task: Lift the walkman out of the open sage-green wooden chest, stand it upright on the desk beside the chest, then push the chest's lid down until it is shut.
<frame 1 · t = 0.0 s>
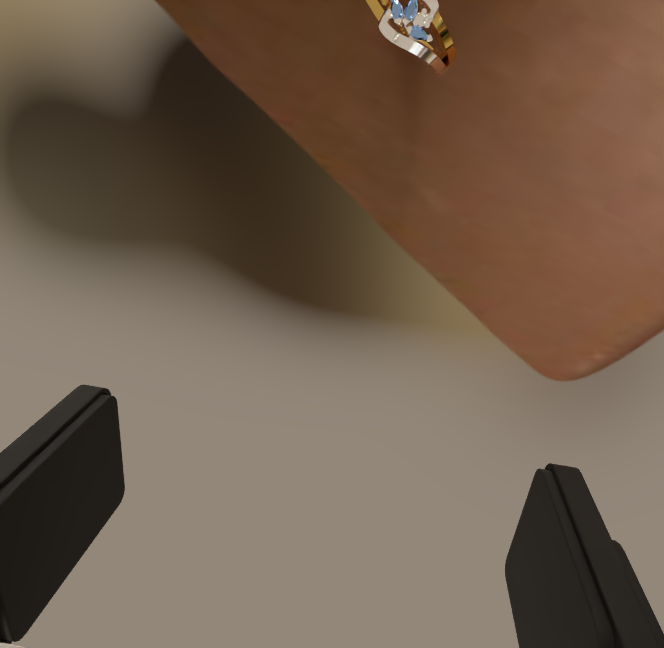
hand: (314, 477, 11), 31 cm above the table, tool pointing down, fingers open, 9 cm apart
ring: (408, 32, 35), on the table
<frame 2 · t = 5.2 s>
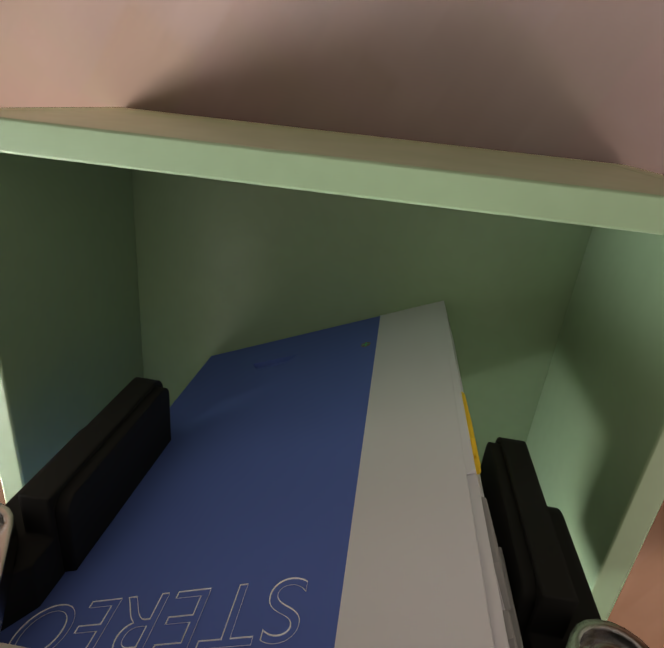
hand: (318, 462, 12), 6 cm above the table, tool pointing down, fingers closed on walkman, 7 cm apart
chest: (336, 359, 17), on the table
walkman: (332, 362, 17), resting on chest, touching gripper
when the fingers open (5 cm above the table, at t = 12.6 s): walkman stays where it is, on the table.
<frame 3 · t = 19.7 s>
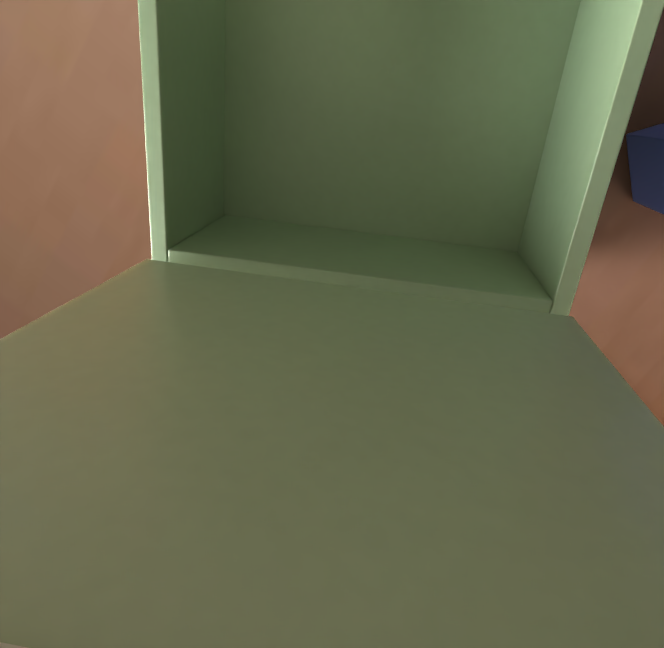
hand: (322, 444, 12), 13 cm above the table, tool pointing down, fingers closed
chest: (388, 69, 20), on the table
chest lid: (313, 414, 10), point 14 cm above the table, hinge at 88.6°, touching gripper
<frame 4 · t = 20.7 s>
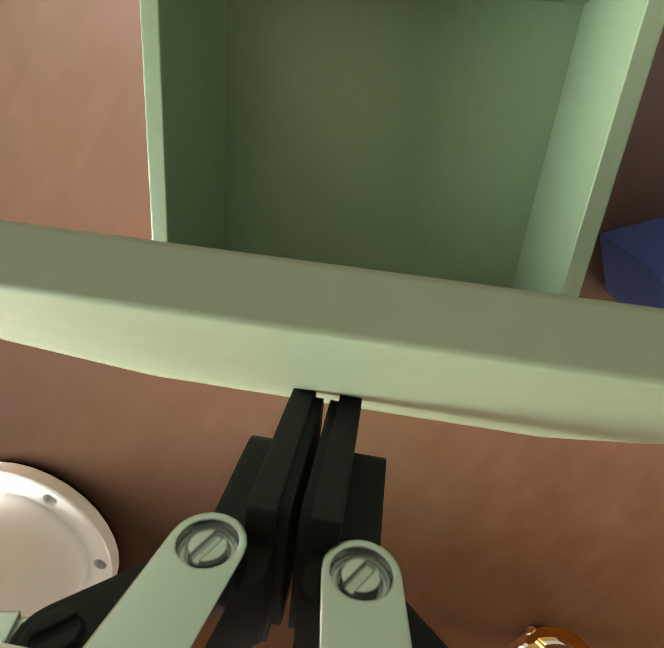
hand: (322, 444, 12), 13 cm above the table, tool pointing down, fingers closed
chest: (377, 171, 22), on the table
chest lid: (326, 377, 11), point 13 cm above the table, hinge at 54.9°, touching gripper
ring: (531, 627, 31), on the table
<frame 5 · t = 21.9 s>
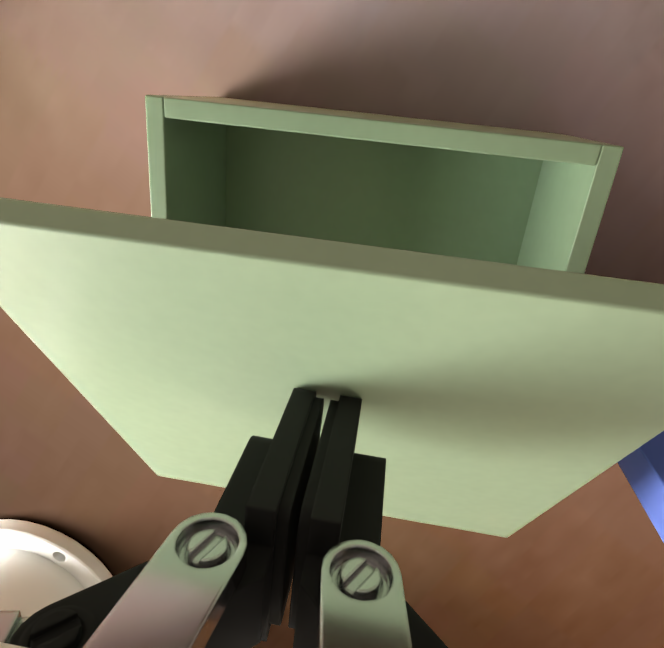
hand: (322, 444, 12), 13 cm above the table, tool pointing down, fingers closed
chest: (363, 277, 24), on the table
walkman: (655, 340, 23), on the table
chest lid: (327, 428, 14), point 11 cm above the table, hinge at 32.6°
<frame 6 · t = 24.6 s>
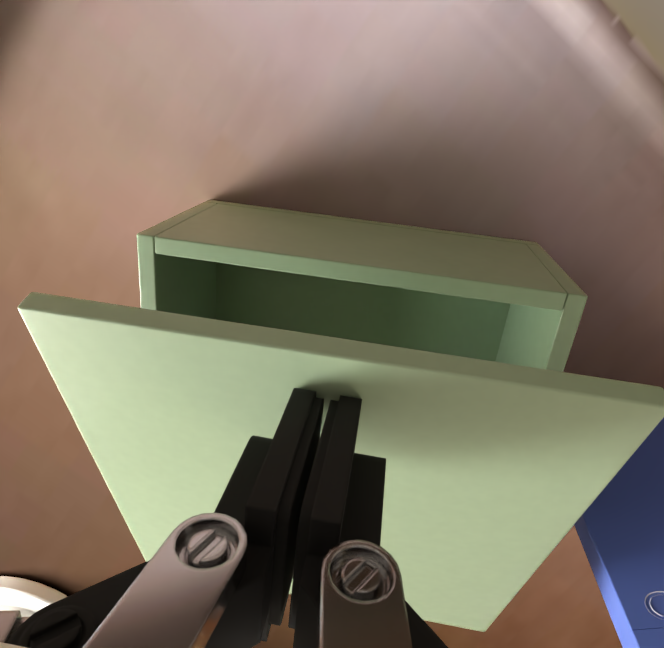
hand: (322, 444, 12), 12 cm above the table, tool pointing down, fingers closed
chest: (349, 365, 25), on the table
walkman: (630, 428, 24), on the table
chest lid: (318, 506, 16), point 9 cm above the table, hinge at 19.6°
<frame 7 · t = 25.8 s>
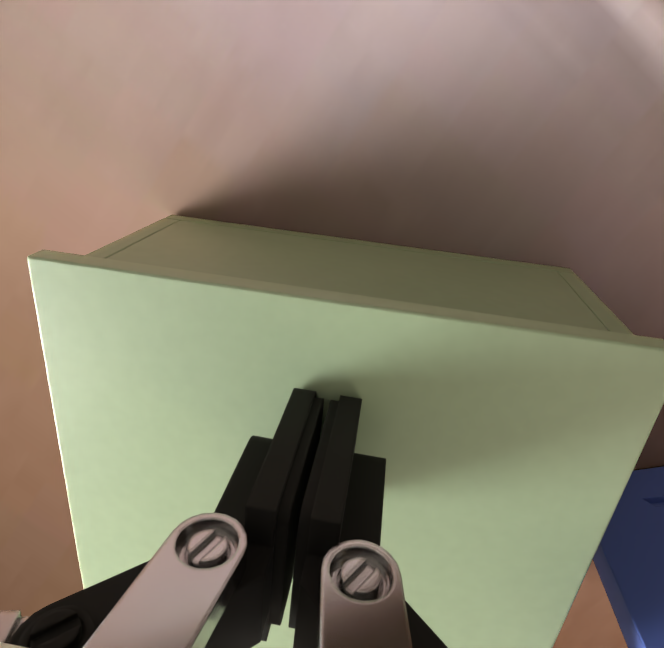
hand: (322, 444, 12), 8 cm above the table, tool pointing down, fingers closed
chest: (342, 409, 21), on the table
chest lid: (312, 539, 14), point 7 cm above the table, hinge at 1.3°, touching gripper
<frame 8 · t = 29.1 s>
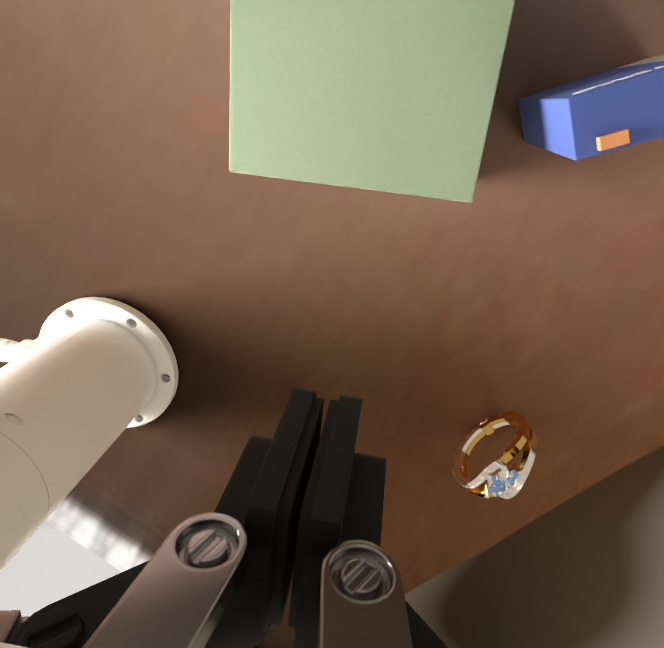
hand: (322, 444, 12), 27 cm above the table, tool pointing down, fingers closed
walkman: (582, 100, 32), on the table
chest lid: (364, 41, 26), point 7 cm above the table, hinge at 1.2°
ring: (485, 421, 43), on the table
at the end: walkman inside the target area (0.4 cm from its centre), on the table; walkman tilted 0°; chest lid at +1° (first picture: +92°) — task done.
